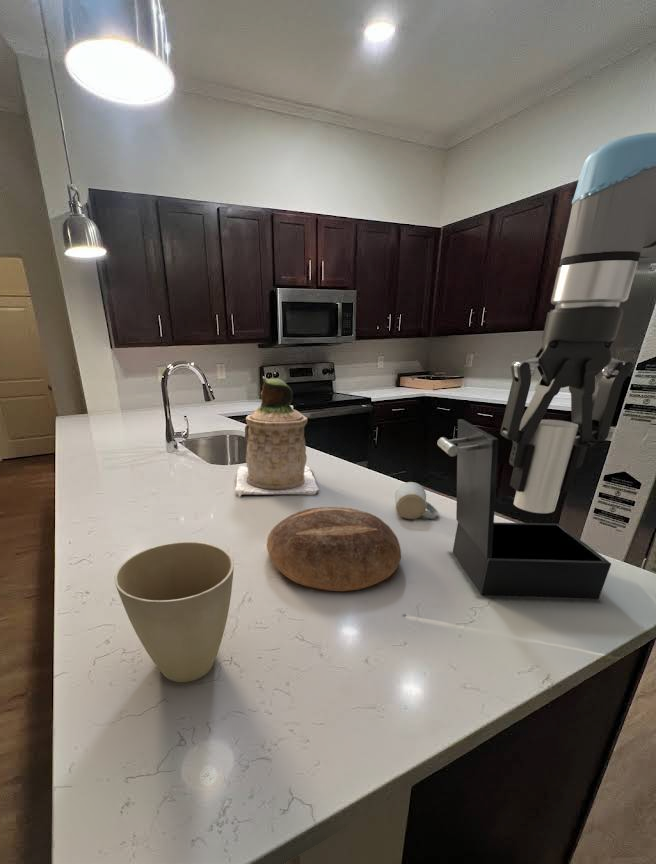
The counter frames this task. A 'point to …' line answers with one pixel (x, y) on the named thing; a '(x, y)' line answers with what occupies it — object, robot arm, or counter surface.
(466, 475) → the bin lid
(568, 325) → the robot arm
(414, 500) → the ceramic mug
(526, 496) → the canister
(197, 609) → the plant pot
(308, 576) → the bread
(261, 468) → the cookie jar
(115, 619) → the counter surface
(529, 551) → the bin
